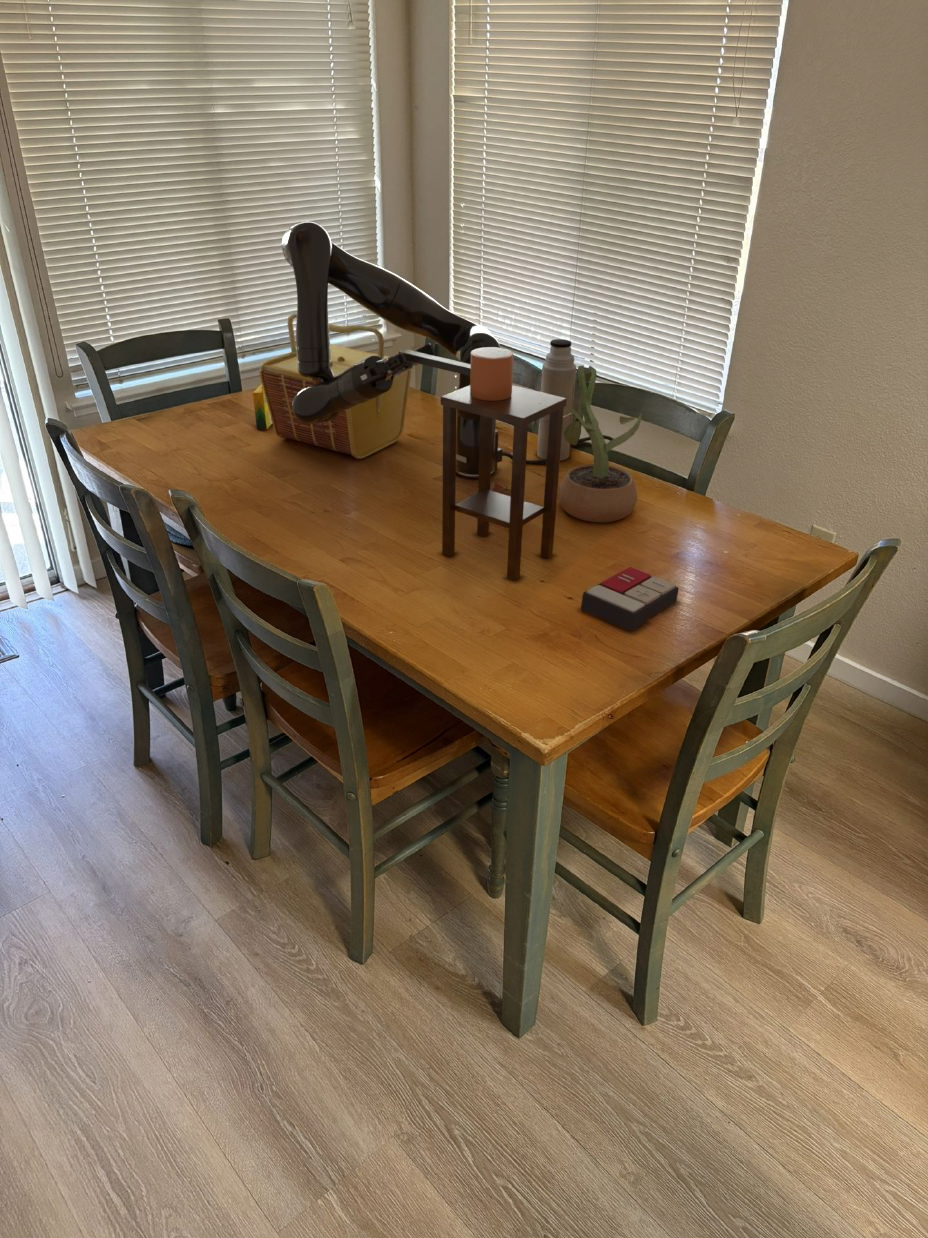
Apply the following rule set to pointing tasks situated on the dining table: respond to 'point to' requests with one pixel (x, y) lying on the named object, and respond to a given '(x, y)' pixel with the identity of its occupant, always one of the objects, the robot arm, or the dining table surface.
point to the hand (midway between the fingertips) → (418, 353)
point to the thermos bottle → (557, 391)
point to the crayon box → (261, 409)
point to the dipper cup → (477, 370)
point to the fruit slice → (500, 489)
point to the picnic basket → (353, 427)
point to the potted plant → (596, 467)
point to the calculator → (629, 598)
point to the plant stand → (500, 507)
